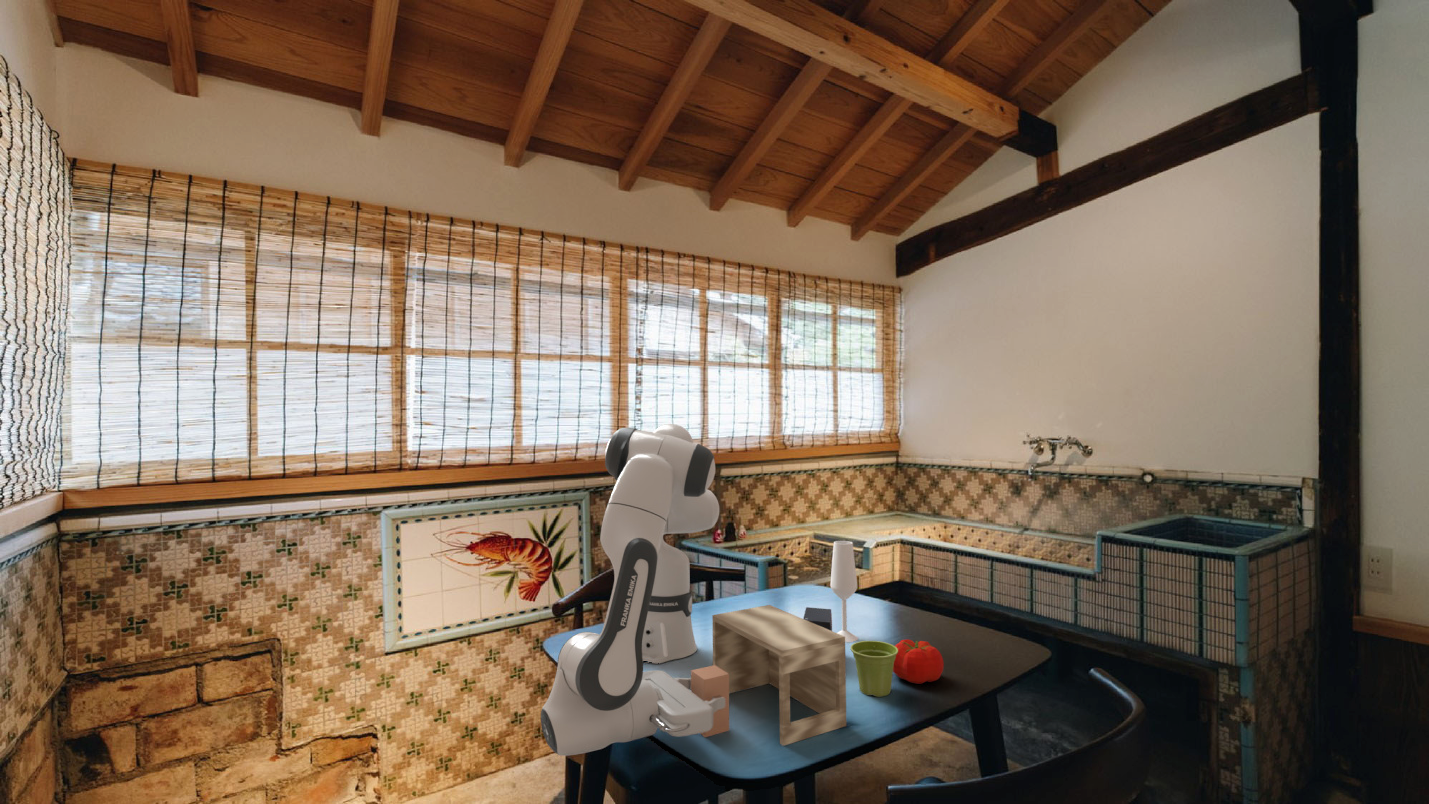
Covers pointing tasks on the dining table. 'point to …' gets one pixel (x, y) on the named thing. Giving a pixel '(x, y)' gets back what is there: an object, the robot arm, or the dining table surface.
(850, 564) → the champagne flute
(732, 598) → the dining table surface
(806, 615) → the small box
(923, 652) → the tomato
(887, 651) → the plant pot
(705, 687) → the terracotta block
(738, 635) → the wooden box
